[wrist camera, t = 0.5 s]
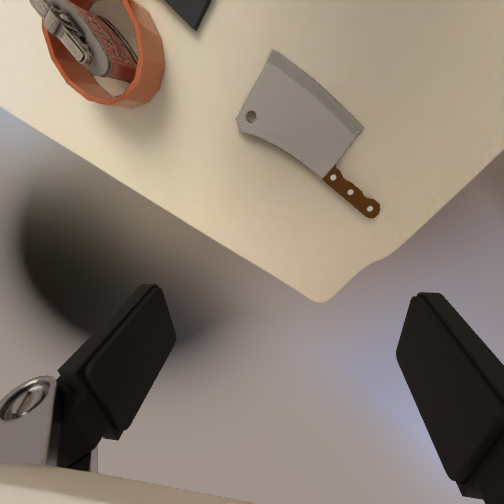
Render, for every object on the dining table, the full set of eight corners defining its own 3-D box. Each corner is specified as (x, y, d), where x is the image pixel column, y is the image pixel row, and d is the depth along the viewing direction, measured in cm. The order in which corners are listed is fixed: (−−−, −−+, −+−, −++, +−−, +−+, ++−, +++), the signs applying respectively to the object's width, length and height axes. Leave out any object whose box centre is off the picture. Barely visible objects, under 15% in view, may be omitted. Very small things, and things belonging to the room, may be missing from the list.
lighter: (89, 33, 30) (6, -4, 22) (103, 10, 29) (21, -40, 20) (136, 92, 33) (78, 80, 24) (151, 73, 31) (96, 53, 23)
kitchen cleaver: (420, 175, 31) (360, 231, 35) (416, 174, 32) (358, 228, 36) (275, 42, 28) (228, 121, 32) (275, 45, 28) (229, 122, 33)
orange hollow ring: (94, -40, 27) (55, -71, 23) (181, 42, 29) (161, 28, 25) (66, 63, 32) (30, 54, 28) (141, 126, 35) (119, 126, 30)
